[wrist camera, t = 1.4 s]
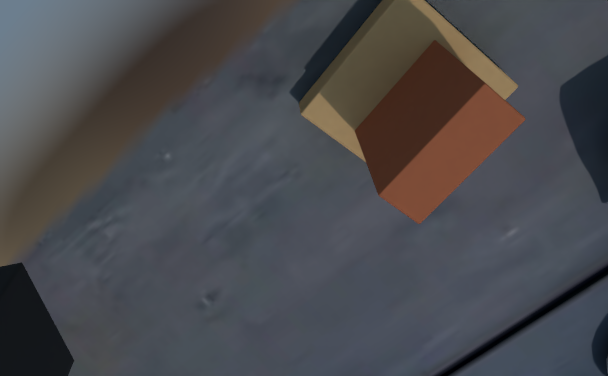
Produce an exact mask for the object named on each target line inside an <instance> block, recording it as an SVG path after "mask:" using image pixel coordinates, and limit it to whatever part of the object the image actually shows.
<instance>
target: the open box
mask: <svg viewBox="0 0 608 376" xmlns="http://www.w3.org/2000/svg"><path fill="white" fill-rule="evenodd" d="M517 87H518V85H517V84H516V83H515V82H514V81H513V80H512V79H511V78H510V77H509V76H507V75H506V74H505V73H504V72H503V71H502V70H501V69H500V68H499V67H498V66H496V65H495V64H494V63H493V62H492V61H491V60H490V59H489V58H488V57H487V56H485V55H484V54H483V53H482V52H481V51H480V50H479V49H478V48H477V47H476V46H474V45H473V44H472V43H471V42H470V41H469V40H468V39H467V38H466V37H465V36H463V35H462V34H461V33H460V32H459V31H458V30H457V29H456V28H455V27H454V26H452V25H451V24H450V23H449V22H448V21H447V20H446V19H445V18H444V17H443V16H441V15H440V14H439V13H438V12H437V11H436V10H435V9H434V8H433V7H432V6H430V5H429V4H428V3H427V2H426V1H425V0H382V1H381V3H380V4H379V5H378V6H377V7H376V9H375V10H374V11H373V12H372V14H371V15H370V16H369V17H368V19H367V20H366V21H365V22H364V23H363V25H362V26H361V27H360V28H359V30H358V31H357V32H356V33H355V34H354V36H353V37H352V38H351V39H350V41H349V42H348V43H347V44H346V46H345V47H344V48H343V49H342V50H341V52H340V53H339V54H338V55H337V57H336V58H335V59H334V60H333V61H332V63H331V64H330V65H329V66H328V68H327V69H326V70H325V71H324V72H323V74H322V75H321V76H320V77H319V79H318V80H317V81H316V82H315V84H314V85H313V86H312V87H311V88H310V90H309V91H308V92H307V93H306V95H305V96H304V97H303V98H302V99H301V101H300V102H299V106H300V113H301V115H302V116H303V117H305V118H306V119H308V120H309V121H310V122H312V123H313V124H314V125H316V126H317V127H319V128H320V129H321V130H323V131H324V132H325V133H327V134H328V135H329V136H331V137H332V138H334V139H335V140H336V141H338V142H339V143H340V144H342V145H343V146H344V147H346V148H347V149H349V150H350V151H351V152H353V153H354V154H355V155H357V156H358V157H360V158H361V159H362V160H364V161H365V162H366V163H367V166H368V168H369V171H370V174H371V176H372V179H373V182H374V185H375V187H376V190H377V193H378V195H379V196H380V197H381V198H383V199H384V200H386V201H387V202H388V203H390V204H391V205H393V206H394V207H395V208H397V209H398V210H400V211H401V212H402V213H404V214H405V215H407V216H408V217H409V218H411V219H412V220H414V221H415V222H417V223H418V224H420V223H421V222H422V221H423V220H424V219H425V218H426V217H427V216H428V215H429V214H430V213H431V212H432V211H433V210H434V209H435V208H436V207H437V206H439V205H440V204H441V203H442V202H443V201H444V200H445V199H446V198H447V197H448V196H449V195H450V194H451V193H452V192H453V191H454V190H455V189H456V188H457V187H458V186H459V185H460V184H461V183H462V182H463V181H464V180H465V179H466V178H467V177H468V176H469V175H470V174H471V173H472V172H473V171H474V170H475V169H476V168H477V167H478V166H479V165H480V164H481V163H482V162H483V161H484V160H485V159H486V158H487V157H488V156H489V155H490V154H491V153H492V152H493V151H494V150H495V149H496V148H497V147H498V146H499V145H500V144H501V143H502V142H503V141H504V140H505V139H506V138H507V137H508V136H509V135H510V134H511V133H512V132H513V131H514V130H515V129H516V128H517V127H518V126H519V125H520V124H521V123H523V122H524V121H525V117H524V116H522V115H521V114H520V113H519V112H518V111H517V110H516V109H515V108H513V107H512V106H511V105H510V104H509V103H508V102H507V101H506V99H507V98H508V97H509V96H510V95H511V94H512V93H513V92H514V91H515V89H516V88H517Z"/></svg>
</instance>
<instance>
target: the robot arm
mask: <svg viewBox="0 0 608 376" xmlns="http://www.w3.org/2000/svg"><path fill="white" fill-rule="evenodd" d="M73 362H74V359H73V358H72V356H71V354H70V352H69V350H68V348H67V346H66V344H65V342H64V341H63V339H62V337H61V335H60V333H59V331H58V329H57V327H56V326H55V324H54V322H53V320H52V318H51V316H50V314H49V312H48V311H47V309H46V307H45V305H44V303H43V301H42V299H41V297H40V296H39V294H38V292H37V290H36V288H35V286H34V284H33V282H32V281H31V279H30V277H29V275H28V273H27V271H26V269H25V267H24V266H23V264H22V263H17V264H12V265H7V266H2V267H0V376H68V374H69V372H70V369H71V367H72V364H73Z"/></svg>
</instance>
